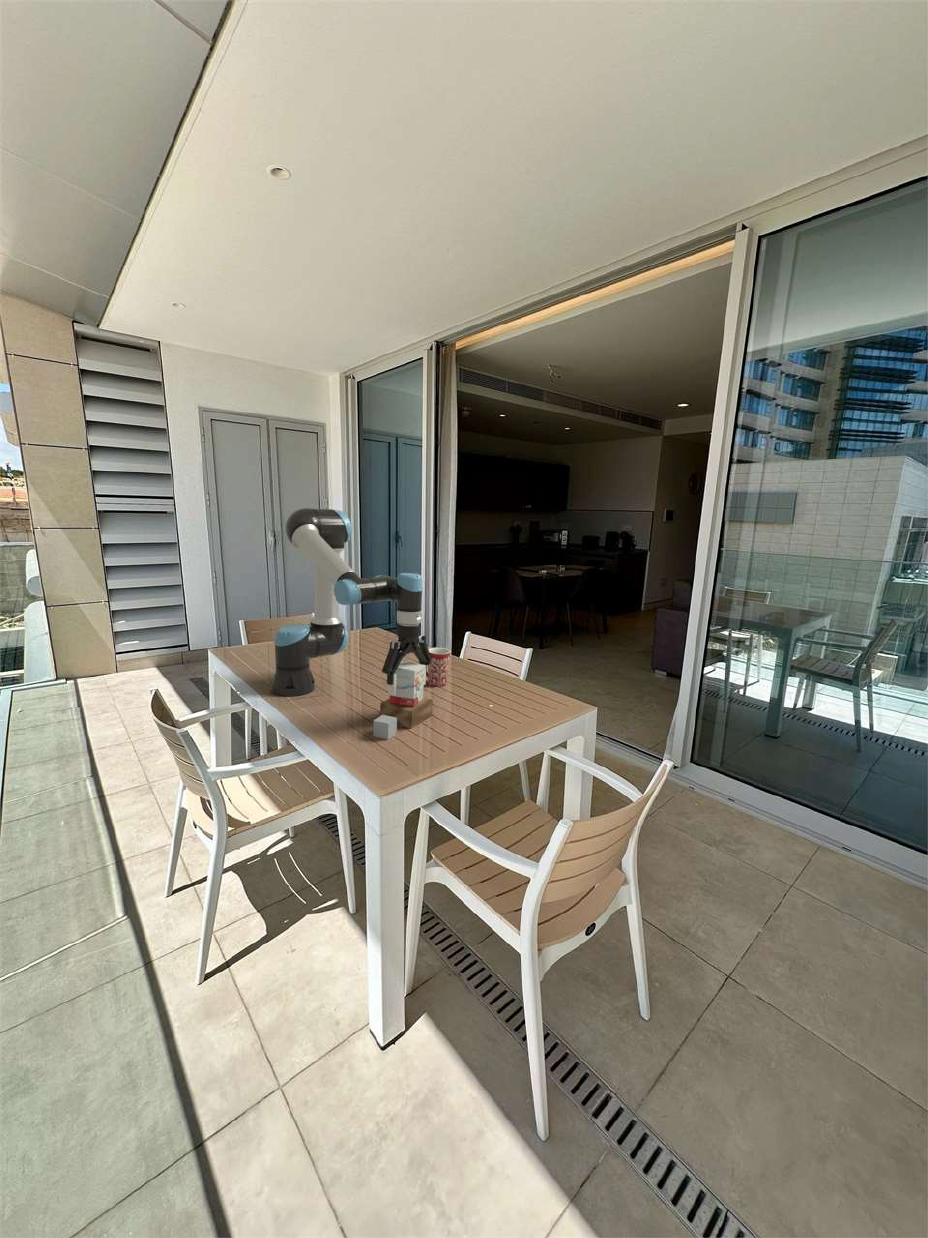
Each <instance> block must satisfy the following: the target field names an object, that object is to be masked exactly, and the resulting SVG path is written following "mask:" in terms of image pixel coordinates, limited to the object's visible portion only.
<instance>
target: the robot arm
mask: <svg viewBox="0 0 928 1238" xmlns="http://www.w3.org/2000/svg"><path fill="white" fill-rule="evenodd" d="M285 533H286V534H285V535H286V537H287V539H288V541H289V542H290V543H291V544H292V546H293V547H294V548H295V549H298V550H300V551H302V552H303V553H304V554H305V556H306V557H308V558H309V560H310V561H311V562H312V563H313V564H314V565H315V566H314V567H315V568H314V570H315V571H314V576H315V577H314V616H313V617H312V618H311V619H310V621H309V622H310V624H309V625H308V624H306V623H291V624H286V625H283V626H281V627H279V628H278V629H277V630H276V631H275V632H274V642H273V643H274V654H275V655H274V656H275V657H274V659H275V670H274V671H275V672H274V674H273V678H272V681H271V683H270V689H271V690H270V691H271V693H273V694H275V695H276V696H277V695H278V696H282V697H297V696H303V695H306V694H310V693H312V692H313V691H314V690H315V689H316V681H315V678H314V675H313V673H312V670H311V665H310V660H311V659H315V658H316V659H317V658H320V657H326V656H333V655H337V654H339V653H341V652H343V651H344V650H345V649H346V647H347V645H348V642H349V631H348V627H347V626H346V625H345V623H343V619H342V618H341V617H340V616H339V609H340V608H339V604H340V605H342V606H354V605H361V604H368V603H376V602H377V603H378V602H384V601H385V602H386V601H388V602H394V603H396V605H397V606H396V623H397V624H396V636H397V638H398V639H397V641H390V642H389V649H388V653H387V655H386V658H385V660H384V664H383V666H382V669H381V673H382V674H385V675H386V684H387V694H389V695H390V694H392V695H396V674H395V672H396V670H397V668H398V666H399V664H400V662H403V659H404V657H406V656H407V655H408V654H412V653H413V654H414V656H415V657H416V658H417V660H418V662H419V661H420V663H421V665H425V667H424V686H425V685H426V681H427V679H426V678H427V676H426V672H428V665H429V664H430V662H431V661H432V658H431V655H430V652H429V650H428V649H429V647H428V644H427V637H426V635H422V625H421V623H422V605H423V604H422V601H423V589H424V588H423V577H422V575H421V574H419V573H413V572H402V573H401V572H400V573H399V574H397V577H392V576H389V575H382V574H381V575H380V574H379V575H376V576H374V577H367V578H366V577H365V578H361V577H360V576H359V575H358V574H357V573H356V572H355V571H354V570H353V569H352V568H351V567H350V565H348V564H347V563H346V561H344V559H342V557H341V552H342V551H344V549H345V543H347V542H349V541H350V539H351V537H352V534H353V528H352V523H351V520H350V518H349V517H348V515H347V514H346V513H345V512H344V511H341V510H338V509H332V508H331V509H329V508H328V509H327V508H307V507H306V508H299V509H297V510H295V511H293V512H292V513H291V514H290V515H289V517H288V518H287V520H286V523H285ZM391 670H392V671H391Z"/></svg>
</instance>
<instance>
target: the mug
mask: <svg viewBox="0 0 928 1238" xmlns="http://www.w3.org/2000/svg"><path fill="white" fill-rule="evenodd" d="M428 650H429V652H430V655H431V658H432V661H431V662H430V664H429V665H427V672H426V678H427V684H428V685H429V686H432V687H437V688H441V687H445V686H447V684H448V676H449V668H450V667H449V666H450V657H451V650H450V649H448V648H444V647H431V648H428ZM418 664H421V663H420V661H419V660H418Z"/></svg>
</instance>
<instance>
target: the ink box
mask: <svg viewBox="0 0 928 1238" xmlns="http://www.w3.org/2000/svg"><path fill="white" fill-rule="evenodd" d="M424 667H425V665H421V664H419V663H414V662H407V661H401V662H400V664H399V666H398V668H397V670H396V672H395V674H396V695H392V694H389V698H388V699H389V703H392V704H398V705H405V706H412V707H414V706H415V705H416V704H417V703H418V702H420V701H421V700H422V699H423V698H424V686H425V685H424ZM391 671H392V670H391Z"/></svg>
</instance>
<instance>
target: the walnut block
mask: <svg viewBox="0 0 928 1238" xmlns="http://www.w3.org/2000/svg"><path fill="white" fill-rule="evenodd" d="M433 701H434V699H430V698H428V697H427V698H426V697H423V699H422V700H421V701H420V702H418V703H417V704H416V705H415V706H414V707H412V706H405V705H398V704H392V703H389V698H388V699H385V700H384V701H382V702H380V704H379V706H380V707H379V713H380V714H379V717H380V716H381V715H386V716H391V717H396V718H397V726H400V727H404V728H408V729H411V730H412V729H414V728H415V727H417V726H418V725H421V724H422V723H424V722H425V721H427V720H428V719H430V718H431V717H433V710H434V709H433V703H434V702H433Z"/></svg>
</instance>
